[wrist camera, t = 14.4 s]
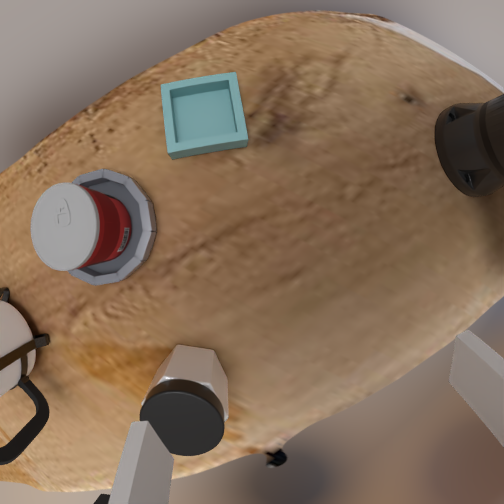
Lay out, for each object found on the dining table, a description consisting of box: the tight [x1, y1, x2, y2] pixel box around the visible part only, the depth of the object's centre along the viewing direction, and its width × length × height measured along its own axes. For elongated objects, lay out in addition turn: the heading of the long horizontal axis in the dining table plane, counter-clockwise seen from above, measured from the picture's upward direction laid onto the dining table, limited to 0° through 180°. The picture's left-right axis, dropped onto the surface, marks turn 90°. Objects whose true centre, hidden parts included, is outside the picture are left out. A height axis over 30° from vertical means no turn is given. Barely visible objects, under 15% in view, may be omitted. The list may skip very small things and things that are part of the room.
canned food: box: [31, 183, 132, 271], centre depth 29 cm, size 8×8×11 cm
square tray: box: [161, 72, 248, 159], centre depth 33 cm, size 9×9×3 cm
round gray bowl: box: [68, 169, 157, 285], centre depth 33 cm, size 13×13×3 cm
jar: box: [140, 344, 228, 456], centre depth 31 cm, size 9×8×12 cm
